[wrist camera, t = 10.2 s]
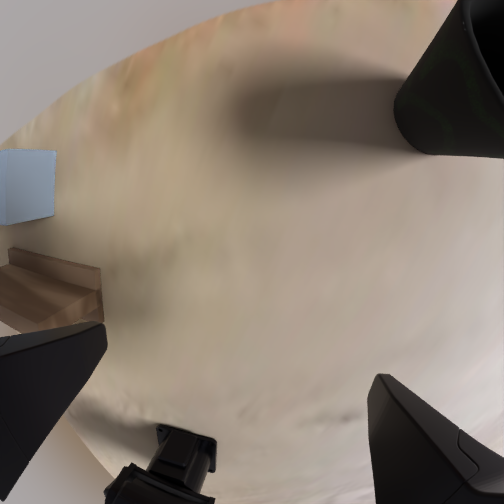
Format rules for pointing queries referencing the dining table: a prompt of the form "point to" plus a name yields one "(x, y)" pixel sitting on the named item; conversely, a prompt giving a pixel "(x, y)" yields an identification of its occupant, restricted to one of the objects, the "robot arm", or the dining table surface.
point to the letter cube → (26, 185)
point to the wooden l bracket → (47, 292)
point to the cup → (458, 86)
